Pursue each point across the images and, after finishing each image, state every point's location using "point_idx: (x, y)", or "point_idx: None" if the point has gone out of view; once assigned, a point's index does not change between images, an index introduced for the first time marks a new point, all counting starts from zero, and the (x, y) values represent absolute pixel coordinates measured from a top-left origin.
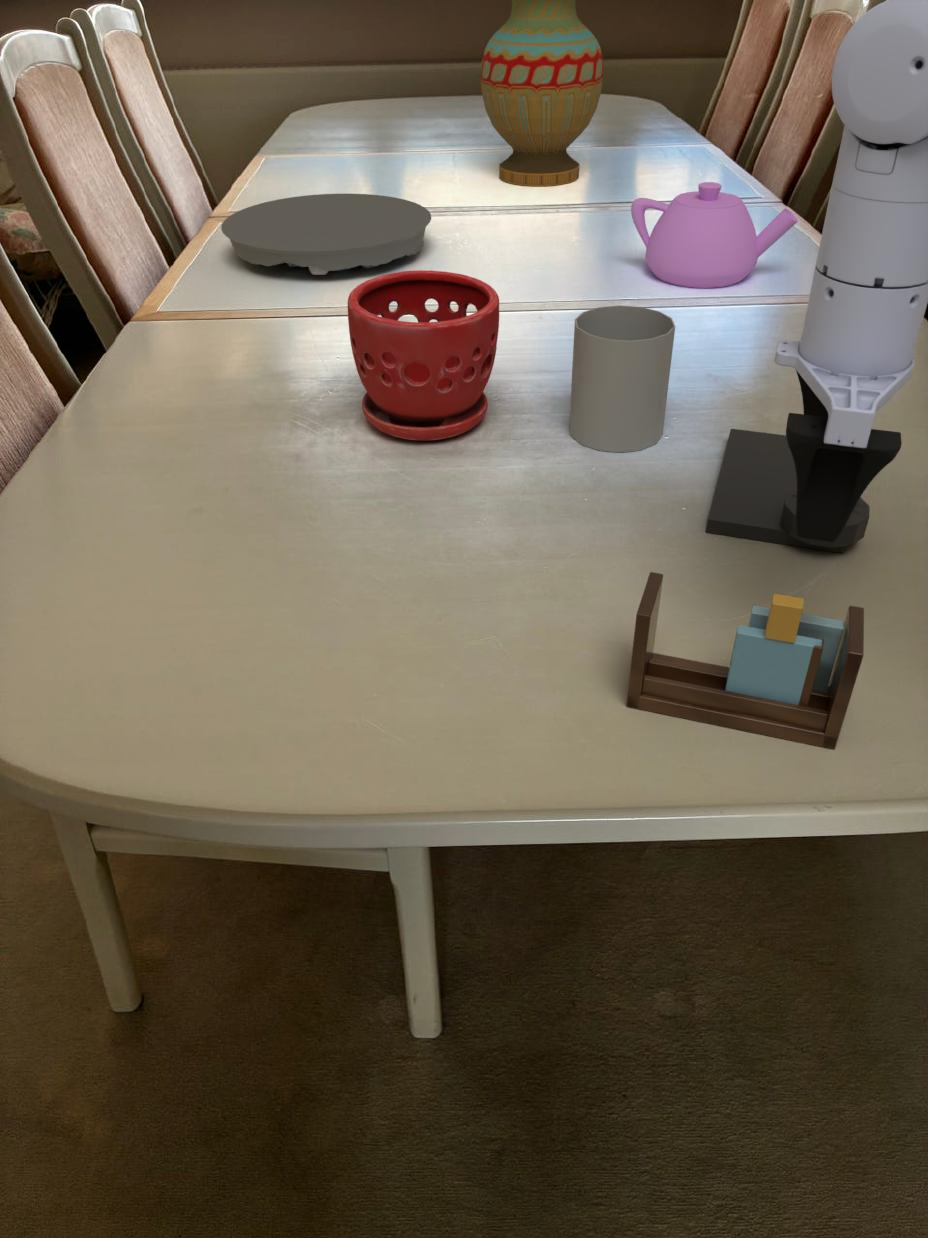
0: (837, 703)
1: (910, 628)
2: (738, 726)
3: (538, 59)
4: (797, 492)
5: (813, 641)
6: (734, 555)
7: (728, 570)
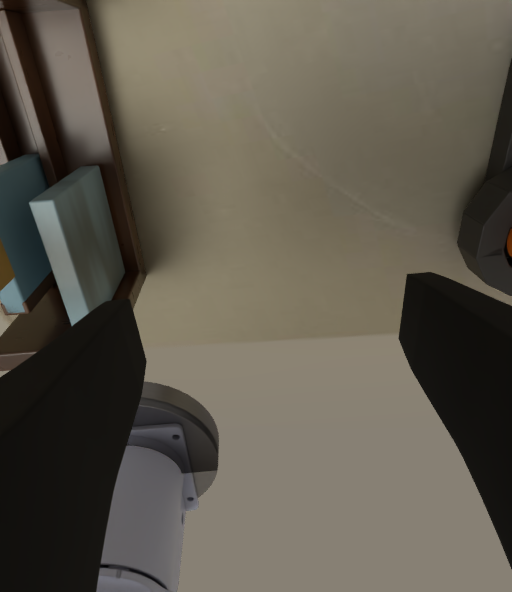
0: None
1: (316, 331)
2: None
3: None
4: (21, 363)
5: (13, 301)
6: (446, 92)
7: (398, 90)
